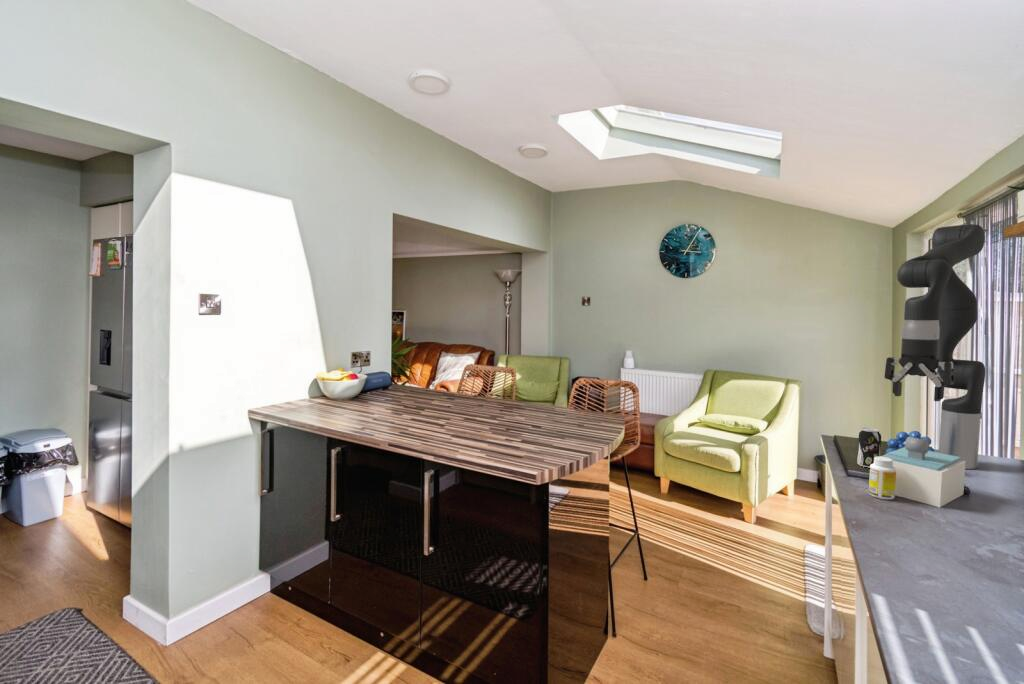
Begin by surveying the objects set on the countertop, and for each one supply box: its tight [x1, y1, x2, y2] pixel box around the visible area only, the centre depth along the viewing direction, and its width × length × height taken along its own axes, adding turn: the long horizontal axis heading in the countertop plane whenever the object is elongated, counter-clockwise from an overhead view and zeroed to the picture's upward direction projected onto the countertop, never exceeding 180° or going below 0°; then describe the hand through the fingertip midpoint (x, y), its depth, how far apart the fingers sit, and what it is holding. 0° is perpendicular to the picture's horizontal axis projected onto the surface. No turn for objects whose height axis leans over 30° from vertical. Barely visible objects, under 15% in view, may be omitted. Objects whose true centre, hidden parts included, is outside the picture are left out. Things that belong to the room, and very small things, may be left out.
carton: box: [880, 453, 966, 508], centre depth 133 cm, size 16×14×10 cm
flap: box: [888, 437, 961, 467], centre depth 133 cm, size 12×12×6 cm
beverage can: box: [856, 427, 882, 469], centre depth 154 cm, size 6×6×12 cm
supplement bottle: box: [868, 455, 896, 501], centre depth 130 cm, size 6×6×10 cm
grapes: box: [885, 430, 935, 455], centre depth 153 cm, size 12×7×12 cm, turn 44°
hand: (916, 398), depth 130 cm, fingers open, 8 cm apart
